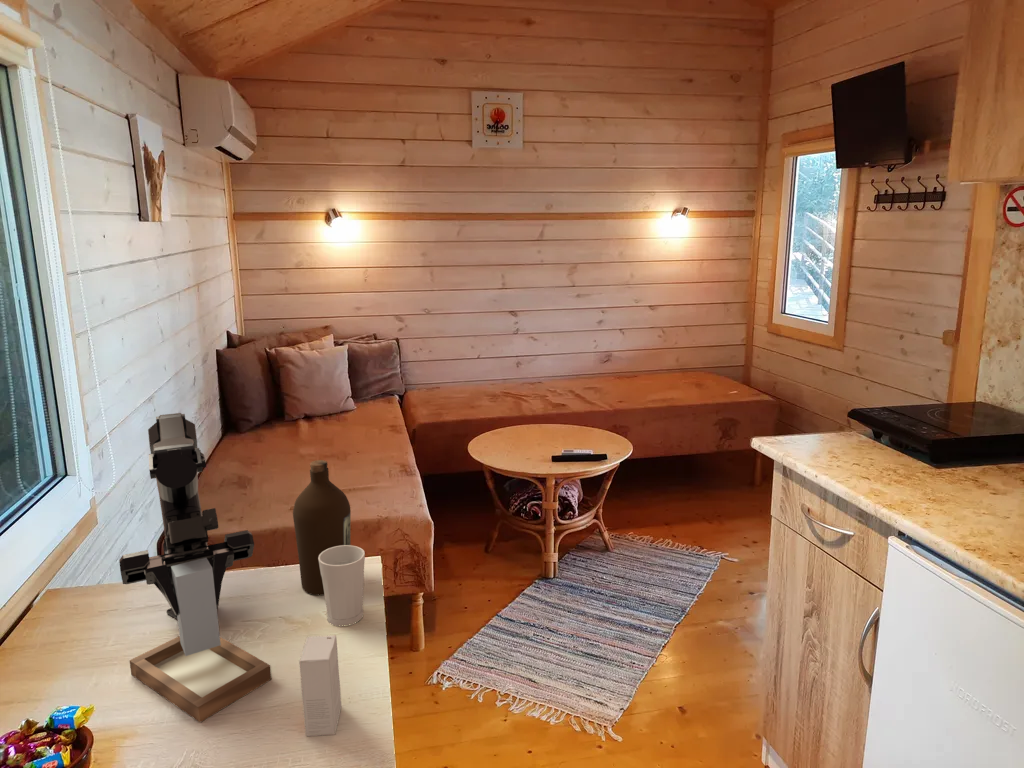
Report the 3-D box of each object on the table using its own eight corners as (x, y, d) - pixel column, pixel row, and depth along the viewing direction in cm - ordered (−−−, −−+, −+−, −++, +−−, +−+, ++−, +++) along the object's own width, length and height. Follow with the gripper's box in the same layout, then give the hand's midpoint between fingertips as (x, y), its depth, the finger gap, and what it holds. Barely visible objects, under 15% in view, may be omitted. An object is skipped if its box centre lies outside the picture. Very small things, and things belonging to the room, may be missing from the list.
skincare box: (312, 708, 105) (306, 635, 103) (341, 707, 106) (337, 633, 103) (304, 737, 99) (298, 660, 97) (335, 736, 100) (330, 659, 97)
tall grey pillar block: (180, 643, 111) (171, 566, 108) (214, 632, 114) (206, 557, 111) (185, 656, 108) (175, 577, 105) (220, 645, 110) (212, 567, 107)
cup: (357, 631, 125) (353, 567, 122) (314, 626, 126) (310, 563, 124) (374, 607, 133) (371, 547, 130) (334, 602, 134) (330, 543, 131)
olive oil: (297, 600, 135) (288, 474, 129) (299, 574, 145) (290, 455, 139) (355, 593, 137) (348, 469, 132) (353, 568, 147) (346, 451, 142)
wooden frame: (131, 674, 113) (129, 660, 113) (201, 638, 123) (200, 625, 122) (199, 722, 102) (198, 707, 102) (271, 679, 112) (270, 665, 111)
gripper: (111, 505, 104) (123, 609, 97) (247, 482, 113) (266, 576, 106) (117, 534, 113) (128, 632, 106) (242, 511, 122) (260, 600, 115)
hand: (197, 609), depth 108 cm, fingers closed on tall grey pillar block, 5 cm apart
